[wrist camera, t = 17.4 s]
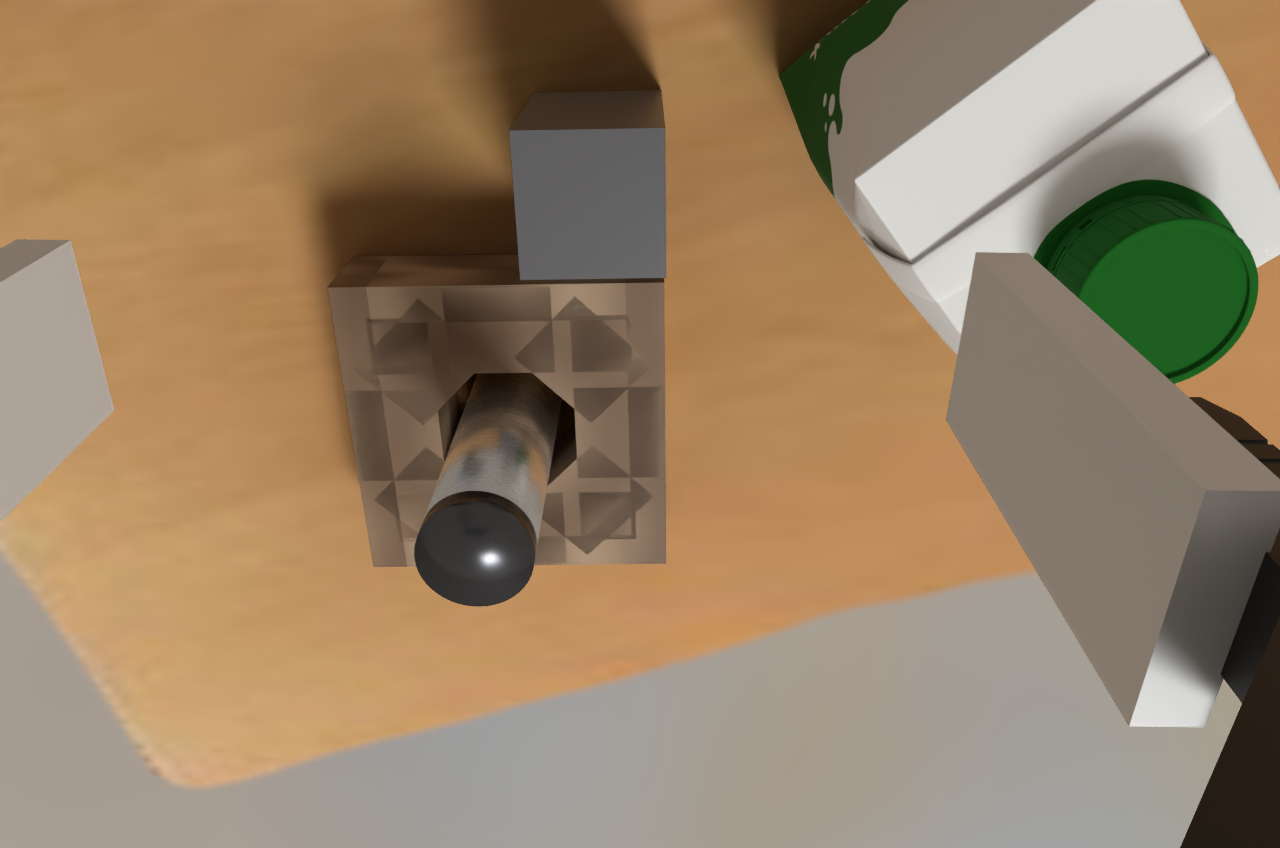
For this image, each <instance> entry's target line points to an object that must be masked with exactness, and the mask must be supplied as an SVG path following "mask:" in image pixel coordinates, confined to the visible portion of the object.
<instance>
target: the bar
mask: <svg viewBox="0 0 1280 848" xmlns="http://www.w3.org/2000/svg"><path fill="white" fill-rule="evenodd" d="M509 136H510V149H511V163H512V176H513V189H514V203H515V216H516V230H517V243H518V257H519V270H520V280H556V279H621V278H666V184H665V121H664V112H663V102H662V92H661V90H645V91H587V92H534V93H533V94H532V96H531V97H530V99H529V100H528V102H527V104H526V105H525V107H524V108H523V110H522V111H521V113H520V114H519V116H518V118H517V119H516V121H515V122H514V124H513V125H512V127H511V128H510V130H509Z"/></svg>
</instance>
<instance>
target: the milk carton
mask: <svg viewBox="0 0 1280 848" xmlns="http://www.w3.org/2000/svg"><path fill="white" fill-rule="evenodd" d="M779 78H780V80H781V82H782V85H783V88H784V90H785V93H786V96H787V98H788V101H789V104H790V106H791V109H792V112H793V114H794V117H795V120H796V122H797V125H798V128H799V130H800V133H801V136H802V138H803V141H804V144H805V146H806V149H807V151H808V154H809V156H810V158H811V161H812V162H813V164H814V166H815V168H816V170H817V172H818V173H819V175H820V177H821V179H822V180H823V182H824V183H825V185H826V186H827V188H828V189H829V190H830V192H831V193H832V195H833V196H834V198H835V199H836V201H837V202H838V204H839V205H840V207H841V208H842V210H843V211H844V212H845V214H846V215H847V217H848V218H849V220H850V221H851V223H852V224H853V226H854V227H855V228H856V230H857V231H858V233H859V234H860V236H861V237H862V239H863V241H864V242H865V244H866V245H867V246H868V248H869V249H870V250H871V252H872V253H873V255H874V256H875V257H876V259H877V260H878V261H879V263H880V264H881V266H882V267H883V268H884V269H885V271H886V272H887V273H888V275H889V276H890V277H891V279H892V280H893V281H894V282H895V284H896V285H897V286H898V287H899V289H900V290H901V291H902V293H903V294H904V295H905V296H906V297H907V299H908V300H909V301H910V302H911V303H912V304H913V306H914V307H915V308H916V309H917V310H918V311H919V312H920V314H921V315H922V316H923V317H924V318H925V319H926V321H927V322H928V323H929V324H930V325H931V326H932V328H933V329H934V330H935V331H936V332H937V333H938V334H939V336H940V337H941V338H942V339H943V340H944V341H945V342H946V344H947V345H948V346H949V347H950V348H951V349H952V350H953V351H954V352H955V353H956V354H957V355H958V349H959V344H960V338H961V333H962V327H963V321H964V316H965V310H966V304H967V299H968V293H969V287H970V282H971V276H972V270H973V265H974V259H975V254H976V252H997V253H1029V254H1030V255H1031V256H1032V257H1033V258H1034V259H1035V260H1036V261H1038V262H1039V263H1040V264H1041V265H1042V266H1043V267H1044V268H1045V269H1046V270H1048V271H1049V272H1050V273H1051V274H1052V275H1053V276H1054V277H1055V278H1056V279H1058V280H1059V281H1060V282H1061V283H1062V284H1063V285H1064V286H1065V287H1067V288H1068V289H1069V290H1070V291H1071V292H1072V293H1073V294H1074V295H1075V296H1077V297H1078V298H1079V299H1080V300H1081V301H1082V302H1083V303H1084V304H1085V305H1087V306H1088V307H1089V308H1090V309H1091V310H1092V311H1093V312H1094V313H1095V314H1097V315H1098V316H1099V317H1100V318H1101V319H1102V320H1103V321H1104V322H1105V323H1107V324H1108V325H1109V326H1110V327H1111V328H1112V329H1113V330H1114V331H1115V332H1117V333H1118V334H1119V335H1120V336H1121V337H1122V338H1123V339H1124V340H1125V341H1127V342H1128V343H1129V344H1130V345H1131V346H1132V347H1133V348H1134V349H1136V350H1137V351H1138V352H1139V353H1140V354H1141V355H1142V356H1143V357H1144V358H1146V359H1147V360H1148V361H1149V362H1150V363H1151V364H1152V365H1153V366H1154V367H1156V368H1157V369H1158V370H1159V371H1160V372H1161V373H1162V374H1163V375H1164V376H1166V377H1167V378H1168V379H1169V380H1170V381H1171V382H1172V383H1173V384H1175V383H1178V382H1181V381H1184V380H1186V379H1189V378H1191V377H1193V376H1195V375H1197V374H1199V373H1200V372H1202V371H1204V370H1205V369H1207V368H1209V367H1210V366H1211V365H1213V364H1214V363H1215V362H1217V361H1218V360H1219V359H1220V358H1222V357H1223V356H1224V355H1225V354H1226V353H1227V352H1228V351H1229V350H1230V349H1231V348H1232V346H1233V345H1234V344H1235V343H1236V342H1237V340H1238V339H1239V338H1240V336H1241V335H1242V333H1243V332H1244V330H1245V328H1246V327H1247V325H1248V323H1249V321H1250V319H1251V316H1252V314H1253V311H1254V308H1255V305H1256V300H1257V295H1258V273H1257V267H1259V266H1261V265H1262V264H1264V263H1266V262H1267V261H1269V260H1271V259H1272V258H1274V257H1276V256H1278V255H1279V254H1280V188H1279V185H1278V183H1277V181H1276V179H1275V177H1274V175H1273V173H1272V171H1271V169H1270V167H1269V165H1268V163H1267V161H1266V159H1265V157H1264V155H1263V153H1262V151H1261V149H1260V147H1259V145H1258V143H1257V141H1256V139H1255V137H1254V135H1253V133H1252V131H1251V129H1250V127H1249V125H1248V123H1247V121H1246V119H1245V117H1244V115H1243V113H1242V111H1241V109H1240V107H1239V105H1238V103H1237V101H1236V99H1235V93H1234V90H1233V88H1232V86H1231V84H1230V81H1229V79H1228V77H1227V75H1226V73H1225V71H1224V70H1223V68H1222V66H1221V64H1220V62H1219V60H1218V59H1217V57H1216V56H1215V54H1214V53H1213V52H1212V51H1211V50H1210V49H1209V48H1208V47H1207V46H1206V45H1205V44H1204V43H1203V42H1202V41H1201V40H1200V38H1199V36H1198V35H1197V33H1196V31H1195V29H1194V27H1193V25H1192V23H1191V21H1190V19H1189V17H1188V15H1187V13H1186V11H1185V9H1184V7H1183V5H1182V3H1181V1H1180V0H869V1H868V2H867V3H865V4H864V5H863V6H862V7H860V8H859V9H858V10H857V11H855V12H854V13H853V14H852V15H850V16H849V17H848V18H847V19H845V20H844V21H843V22H842V23H840V24H839V25H838V26H837V27H835V28H834V29H833V30H832V31H830V32H829V33H828V34H827V35H826V36H824V37H823V38H822V39H821V40H820V41H818V42H817V43H816V44H815V45H814V46H813V47H811V48H810V49H809V50H808V51H807V52H806V53H804V54H803V55H802V56H801V57H800V58H799V59H797V60H796V61H795V62H794V63H793V64H792V65H790V66H789V67H788V68H787V69H786V70H785V71H783V72H782V73H781V74H780V75H779Z"/></svg>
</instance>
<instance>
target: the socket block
mask: <svg viewBox="0 0 1280 848" xmlns="http://www.w3.org/2000/svg"><path fill="white" fill-rule="evenodd" d="M327 289H328V296H329V302H330V308H331V314H332V320H333V326H334V332H335V338H336V344H337V350H338V356H339V362H340V368H341V374H342V380H343V386H344V392H345V398H346V404H347V410H348V416H349V422H350V428H351V434H352V440H353V446H354V452H355V458H356V465H357V471H358V477H359V483H360V489H361V495H362V501H363V507H364V513H365V519H366V525H367V531H368V537H369V543H370V549H371V555H372V561H373V567H408V566H416V563H415V559H414V547H415V542H416V539H417V536H418V533H419V530H420V528H421V525H422V522H423V520H424V517H425V514H426V511H427V509H428V506H429V503H430V501H431V498H432V495H433V492H434V490H435V487H436V484H437V482H438V479H439V476H440V474H441V471H442V468H443V465H444V463H445V460H446V457H447V455H448V452H449V449H450V446H451V444H452V441H453V438H454V436H455V433H456V430H457V427H458V425H459V422H460V417H459V408H458V399H457V391H458V390H459V389H460V388H461V386H462V385H463V384H464V383H465V382H466V381H467V380H468V379H469V378H470V377H471V376H472V375H473V374H477V373H533V374H534V375H535V376H536V377H537V378H539V379H540V380H541V381H542V382H543V383H544V384H546V385H547V386H548V387H549V388H550V389H552V390H553V391H554V392H555V393H556V394H557V395H559V396H560V397H561V398H562V399H563V400H565V401H566V402H567V403H568V404H569V405H570V406H572V407H573V408H574V410H575V424H574V425H573V426H572V427H571V428H570V429H569V430H568V431H567V432H566V433H565V434H563V435H562V436H561V437H560V438H559V439H558V440H557V441H556V442H555V444H554V449H553V455H552V461H551V467H550V473H549V479H548V485H547V491H546V497H545V502H544V508H543V514H542V520H541V526H540V532H539V538H538V544H537V550H536V555H535V561H534V565H577V564H661V563H666V484H665V338H664V278H621V279H556V280H520V270H519V257H518V254H489V255H425V256H360V257H353V259H352V260H351V261H350V262H349V263H348V264H347V265H346V267H345V268H344V269H343V270H342V271H341V272H340V274H339V275H338V276H337V277H336V278H335V279H334V280H333V282H332V283H331V284H330V285H329V286H328V287H327Z"/></svg>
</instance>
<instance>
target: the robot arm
mask: <svg viewBox="0 0 1280 848" xmlns="http://www.w3.org/2000/svg"><path fill="white" fill-rule="evenodd" d="M113 411H114V408H113V404H112V400H111V396H110V392H109V388H108V384H107V380H106V376H105V373H104V369H103V365H102V361H101V357H100V353H99V349H98V345H97V341H96V338H95V334H94V330H93V326H92V322H91V318H90V314H89V310H88V306H87V303H86V299H85V295H84V291H83V287H82V283H81V279H80V275H79V271H78V268H77V264H76V260H75V256H74V252H73V248H72V244H71V240H15V241H13V242H12V243H10V244H8V245H6V246H4V247H3V248H1V249H0V522H1V521H2V520H3V519H4V518H5V517H6V516H7V515H8V514H9V513H10V512H11V511H12V510H13V509H14V508H15V507H16V506H17V505H18V504H19V503H20V502H21V501H22V500H23V499H24V498H25V497H26V496H27V495H28V494H29V493H30V492H31V491H32V490H33V489H35V488H36V487H37V486H38V485H39V484H40V483H41V482H42V481H43V480H44V479H45V478H46V477H47V476H48V475H49V474H50V473H51V472H52V471H53V470H54V469H55V468H56V467H57V466H58V465H59V464H60V463H61V462H62V461H63V460H64V459H65V458H66V457H67V456H68V455H69V454H70V453H71V452H72V451H73V450H74V449H75V448H76V447H77V446H78V445H79V444H80V443H81V442H83V441H84V440H85V439H86V438H87V437H88V436H89V435H90V434H91V433H92V432H93V431H94V430H95V429H96V428H97V427H98V426H99V425H100V424H101V423H102V422H103V421H104V420H105V419H106V418H107V417H108V416H109V415H110V414H111V413H112V412H113ZM946 421H947V422H948V424H949V426H950V428H951V429H952V431H953V433H954V434H955V436H956V438H957V439H958V441H959V443H960V444H961V446H962V448H963V449H964V451H965V453H966V454H967V456H968V458H969V459H970V461H971V463H972V464H973V466H974V468H975V469H976V471H977V473H978V474H979V476H980V478H981V479H982V481H983V483H984V484H985V486H986V488H987V489H988V491H989V493H990V494H991V496H992V498H993V499H994V501H995V503H996V504H997V506H998V508H999V510H1000V511H1001V513H1002V515H1003V516H1004V518H1005V520H1006V521H1007V523H1008V525H1009V526H1010V528H1011V530H1012V531H1013V533H1014V535H1015V536H1016V538H1017V540H1018V541H1019V543H1020V545H1021V546H1022V548H1023V550H1024V551H1025V553H1026V555H1027V556H1028V558H1029V560H1030V561H1031V563H1032V565H1033V566H1034V568H1035V570H1036V571H1037V573H1038V575H1039V576H1040V578H1041V580H1042V581H1043V583H1044V585H1045V587H1046V588H1047V590H1048V592H1049V593H1050V595H1051V597H1052V598H1053V600H1054V601H1055V603H1056V605H1057V606H1058V608H1059V610H1060V611H1061V613H1062V615H1063V617H1064V618H1065V620H1066V622H1067V623H1068V625H1069V627H1070V628H1071V630H1072V632H1073V633H1074V635H1075V637H1076V638H1077V640H1078V642H1079V643H1080V645H1081V647H1082V648H1083V650H1084V652H1085V653H1086V655H1087V657H1088V658H1089V660H1090V662H1091V663H1092V665H1093V667H1094V668H1095V670H1096V672H1097V673H1098V675H1099V677H1100V678H1101V680H1102V682H1103V684H1104V685H1105V687H1106V689H1107V690H1108V692H1109V694H1110V695H1111V697H1112V699H1113V700H1114V702H1115V704H1116V705H1117V707H1118V709H1119V710H1120V712H1121V714H1122V715H1123V717H1124V719H1125V720H1126V722H1127V724H1128V725H1129V726H1139V727H1142V726H1143V727H1205V726H1206V724H1207V721H1208V718H1209V716H1210V713H1211V710H1212V708H1213V705H1214V702H1215V700H1216V697H1217V694H1218V692H1219V689H1220V686H1221V684H1222V681H1223V678H1224V680H1225V681H1226V682H1227V684H1228V685H1229V686H1230V687H1231V689H1232V690H1233V691H1234V693H1235V694H1236V696H1237V697H1238V698H1239V699H1240V701H1241V702H1242V705H1241V708H1240V710H1239V712H1238V715H1237V717H1236V719H1235V722H1234V724H1233V727H1232V729H1231V731H1230V733H1229V736H1228V738H1227V741H1226V743H1225V745H1224V748H1223V750H1222V752H1221V754H1220V757H1219V759H1218V761H1217V763H1216V766H1215V768H1214V770H1213V773H1212V775H1211V777H1210V780H1209V782H1208V784H1207V787H1206V789H1205V791H1204V794H1203V796H1202V798H1201V801H1200V803H1199V805H1198V808H1197V810H1196V812H1195V815H1194V817H1193V819H1192V822H1191V824H1190V826H1189V828H1188V831H1187V833H1186V836H1185V838H1184V840H1183V842H1182V845H1181V847H1180V848H1280V450H1279V449H1278V448H1276V447H1275V446H1274V445H1268V443H1267V442H1268V440H1267V439H1266V438H1265V437H1263V436H1262V435H1261V434H1260V433H1259V432H1258V431H1256V430H1255V429H1254V428H1253V427H1252V426H1251V425H1249V424H1248V423H1247V422H1246V421H1245V420H1244V419H1242V418H1241V417H1239V416H1237V415H1235V414H1233V413H1231V412H1229V411H1227V410H1225V409H1223V408H1221V407H1219V406H1217V405H1215V404H1213V403H1211V402H1209V401H1207V400H1205V399H1203V398H1201V397H1188V396H1187V395H1186V394H1184V393H1183V392H1182V391H1181V390H1180V389H1179V388H1178V387H1177V386H1176V385H1174V384H1173V383H1172V382H1171V381H1170V380H1169V379H1168V378H1167V377H1166V376H1164V375H1163V374H1162V373H1161V372H1160V371H1159V370H1158V369H1157V368H1156V367H1154V366H1153V365H1152V364H1151V363H1150V362H1149V361H1148V360H1147V359H1146V358H1144V357H1143V356H1142V355H1141V354H1140V353H1139V352H1138V351H1137V350H1136V349H1134V348H1133V347H1132V346H1131V345H1130V344H1129V343H1128V342H1127V341H1125V340H1124V339H1123V338H1122V337H1121V336H1120V335H1119V334H1118V333H1117V332H1115V331H1114V330H1113V329H1112V328H1111V327H1110V326H1109V325H1108V324H1107V323H1105V322H1104V321H1103V320H1102V319H1101V318H1100V317H1099V316H1098V315H1097V314H1095V313H1094V312H1093V311H1092V310H1091V309H1090V308H1089V307H1088V306H1087V305H1085V304H1084V303H1083V302H1082V301H1081V300H1080V299H1079V298H1078V297H1077V296H1075V295H1074V294H1073V293H1072V292H1071V291H1070V290H1069V289H1068V288H1067V287H1065V286H1064V285H1063V284H1062V283H1061V282H1060V281H1059V280H1058V279H1056V278H1055V277H1054V276H1053V275H1052V274H1051V273H1050V272H1049V271H1048V270H1046V269H1045V268H1044V267H1043V266H1042V265H1041V264H1040V263H1039V262H1038V261H1036V260H1035V259H1034V258H1033V257H1032V256H1031V255H1030V254H1029V253H997V252H976V254H975V259H974V265H973V270H972V276H971V282H970V287H969V293H968V299H967V304H966V310H965V316H964V321H963V327H962V333H961V338H960V344H959V349H958V355H957V361H956V366H955V372H954V378H953V383H952V389H951V395H950V400H949V406H948V412H947V417H946Z"/></svg>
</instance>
